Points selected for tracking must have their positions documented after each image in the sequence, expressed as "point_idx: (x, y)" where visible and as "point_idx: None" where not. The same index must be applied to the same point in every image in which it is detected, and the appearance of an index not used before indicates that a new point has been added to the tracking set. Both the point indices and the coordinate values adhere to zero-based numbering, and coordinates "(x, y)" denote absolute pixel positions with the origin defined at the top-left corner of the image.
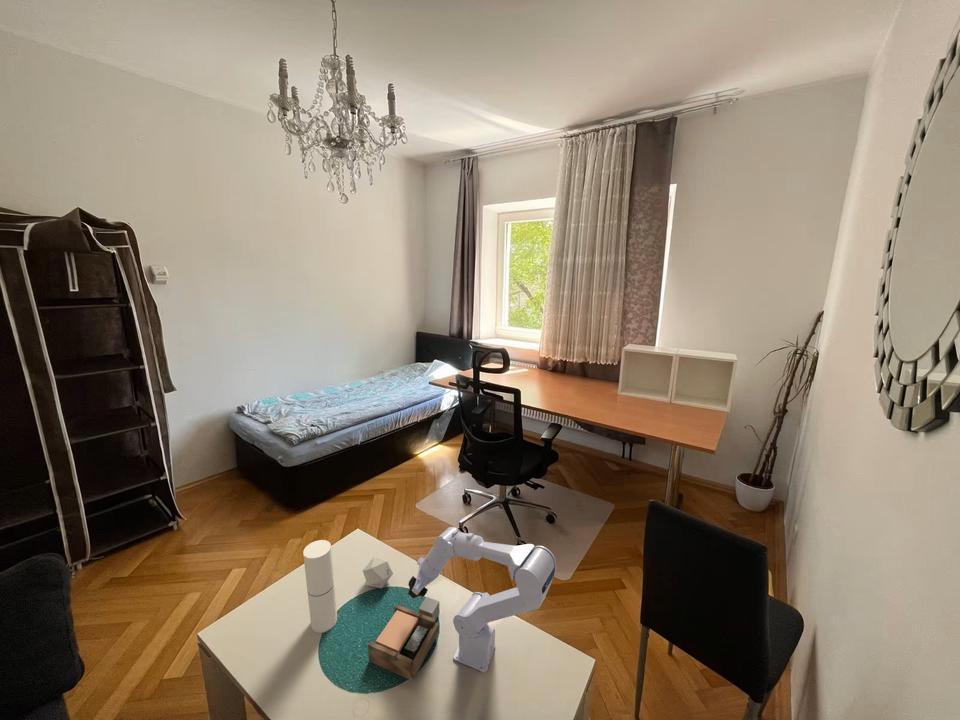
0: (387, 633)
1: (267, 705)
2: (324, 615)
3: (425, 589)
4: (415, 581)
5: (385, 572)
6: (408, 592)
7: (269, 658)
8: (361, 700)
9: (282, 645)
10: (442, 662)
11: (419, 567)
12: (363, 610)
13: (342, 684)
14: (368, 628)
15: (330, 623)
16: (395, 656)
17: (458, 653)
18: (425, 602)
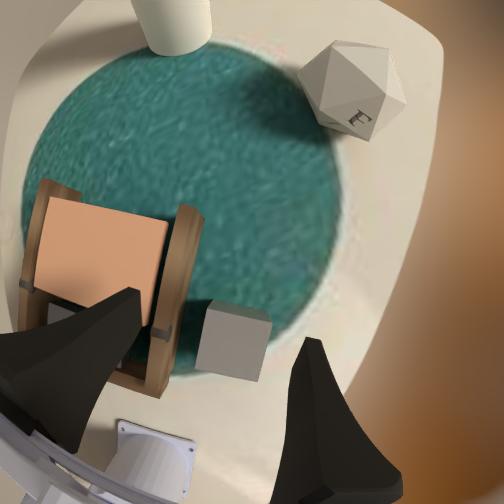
0: (72, 224)
1: (27, 67)
2: (138, 17)
3: (59, 444)
4: (12, 399)
5: (347, 107)
6: (121, 290)
7: (100, 11)
8: (11, 220)
9: (123, 9)
10: (106, 394)
11: (31, 486)
12: (224, 99)
13: (34, 160)
14: (163, 140)
15: (156, 45)
16: (20, 283)
17: (134, 433)
18: (242, 328)
